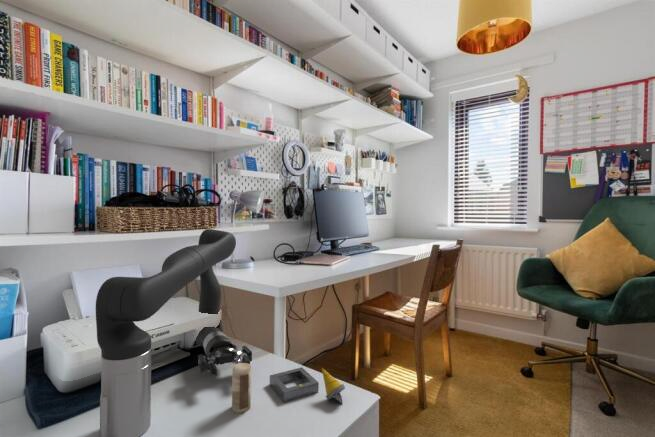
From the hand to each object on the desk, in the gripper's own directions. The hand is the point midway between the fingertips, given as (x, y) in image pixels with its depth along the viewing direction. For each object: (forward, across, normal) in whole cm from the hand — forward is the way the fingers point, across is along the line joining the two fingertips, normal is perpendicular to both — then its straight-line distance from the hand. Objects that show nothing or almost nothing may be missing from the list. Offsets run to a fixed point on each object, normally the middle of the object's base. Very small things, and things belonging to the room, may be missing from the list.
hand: (232, 368), depth 88 cm
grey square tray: (+7, +15, +6) cm, 17 cm away
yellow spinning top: (+17, +21, +6) cm, 28 cm away
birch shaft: (+9, 0, +6) cm, 11 cm away
